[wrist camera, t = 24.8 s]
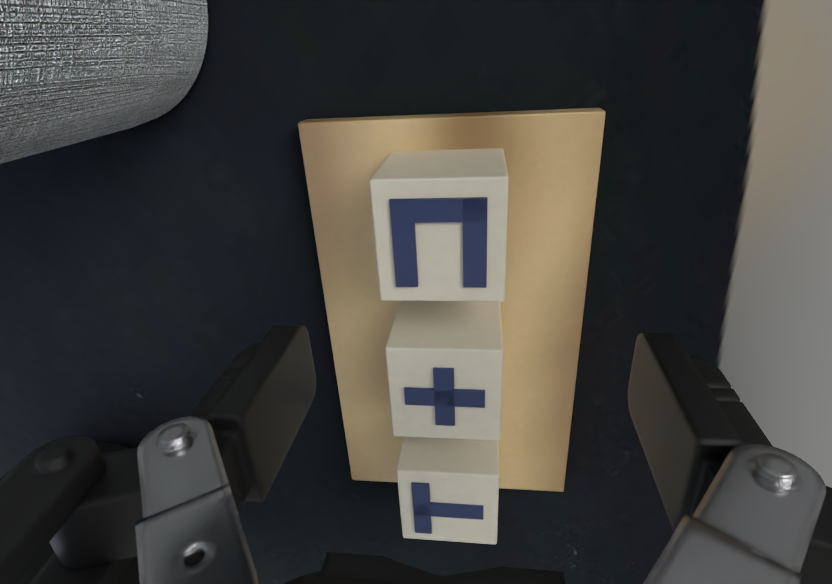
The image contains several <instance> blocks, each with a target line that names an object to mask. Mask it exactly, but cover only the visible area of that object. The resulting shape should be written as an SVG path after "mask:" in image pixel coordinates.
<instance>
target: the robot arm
mask: <svg viewBox="0 0 832 584" xmlns="http://www.w3.org/2000/svg"><path fill="white" fill-rule="evenodd" d="M315 391H316V373H315V367H314V362H313V356H312V350H311V345H310V339H309V333H308V330H307V328H306V327H305V326H303V325H275V326H273V327H272V329H271V330H270V331H269V333H268V334H267V335H266V337H265V338H264V339H263V341H262V342H261V343H260V344H253V345H251V346H250V347H248V348H247V349H245V350H244V351H242V352H241V353H239V354H238V355H237V356H236V357H235V358H234V360H233V361H232V362H231V364H230V365H229V366H228V367H227V370H225V371H224V372H223V374H222V375H221V376H220V377H219V381H216V382H215V384H214V385H213V386H212V388H211V389H210V390H209V391H208V393H207V394H206V395H205V396H204V398H203V399H202V400H201V401H200V403H199V404H198V405H197V406H196V408H195V409H194V410H193V411H192V413H191V414H190V415H189V417H182V418H177V419H174V420H171V421H168V422H166V423H164V424H162V425H160V426H158V427H156V428H155V429H153V430H152V431H151V432H149V433H148V434H147V435H146V436H145V437H144V438H143V440H142V441H141V442H140V444H139V446H138V447H135V448H130V449H125V450H119V451H114V452H108V453H103V454H100V451H99V449H98V447H97V445H96V442H95V441H94V440H93V439H92V438H90V437H88V436H83V435H75V436H68V437H64V438H60V439H57V440H54V441H52V442H49V443H47V444H45V445H43V446H41V447H39V448H38V449H36V450H34V451H33V452H31V453H30V454H29V455H27V456H26V457H25V458H24V459H23V460H22V461H21V462H20V463H19V464H18V465H17V466H15V467H14V468H13V469H12V470H11V471H10V472H9V473H8V474H7V475H6V476H5V477H4V478H3V479H2V480H1V481H0V584H20V581H21V579H22V577H23V575H24V573H25V572H26V570H27V569H28V568H29V567H30V565H31V564H32V563H33V562H34V560H35V559H36V558H37V557H38V555H39V554H40V553H41V552H42V550H43V549H44V548H45V547H46V545H47V544H48V543H50V544H51V546H52V548H53V550H54V553H53V554H52V556H51V557H50V558H49V559H48V561H47V562H46V563H45V565H44V566H43V567H42V568H41V570H40V571H39V572H38V574H37V575H36V576H35V577H34V579H33V580H32V581H31V583H30V584H117V583H118V581H119V579H120V578H121V576H122V575H123V573H124V571H125V570H126V568H127V567H128V565H129V563H130V562H131V560H132V559H133V557H136V556H138V569H139V582H140V584H260V583H259V579H258V576H257V573H256V569H255V566H254V563H253V560H252V556H251V553H250V550H249V547H248V543H247V540H246V537H245V534H244V530H243V527H242V524H241V520H240V517H239V514H238V512H239V510H240V508H241V506H242V504H243V502H244V501H249V502H264V500H265V498H266V496H267V494H268V492H269V490H270V488H271V486H272V484H273V482H274V480H275V478H276V476H277V474H278V471H279V469H280V467H281V465H282V463H283V461H284V459H285V457H286V455H287V453H288V451H289V449H290V447H291V445H292V443H293V441H294V439H295V436H296V434H297V432H298V430H299V428H300V426H301V424H302V422H303V420H304V418H305V416H306V414H307V412H308V410H309V408H310V406H311V404H312V401H313V399H314V396H315ZM628 406H629V411H630V415H631V418H632V420H633V423H634V426H635V429H636V431H637V434H638V437H639V439H640V442H641V445H642V448H643V450H644V453H645V456H646V458H647V461H648V464H649V466H650V469H651V472H652V475H653V477H654V480H655V483H656V485H657V488H658V491H659V494H660V496H661V499H662V502H663V504H664V507H665V510H666V512H667V515H668V518H669V521H670V523H671V526H672V529H673V531H674V533H673V535H672V537H671V538H670V540H669V542H668V543H667V545H666V547H665V548H664V550H663V552H662V553H661V555H660V557H659V558H658V560H657V562H656V563H655V565H654V567H653V568H652V570H651V572H650V574H649V575H648V577H647V579H646V580H645V582H644V584H832V488H830V487H827V486H825V484H824V482H823V480H822V478H821V477H820V475H819V474H818V473H817V472H816V471H815V470H814V469H813V468H812V467H811V466H810V465H809V464H807V463H806V462H804V461H803V460H802V459H800V458H798V457H797V456H795V455H793V454H791V453H788V452H786V451H784V450H781V449H779V448H775V447H773V446H772V445H771V443H770V442H769V440H768V439H767V438H766V436H765V435H764V433H763V432H762V430H761V429H760V427H759V426H758V424H757V423H756V422H755V420H754V419H753V417H752V416H751V414H750V413H749V412H748V410H747V408H746V407H745V406H744V404H743V403H742V402H740V398H739V397H738V395H737V394H736V392H735V391H734V390H733V389H731V385H730V384H729V382H728V381H727V379H726V378H725V376H724V375H723V374H722V372H721V371H720V370H719V369H718V368H717V367H715V366H714V365H712V364H711V363H710V362H708V361H707V360H705V359H704V358H703V357H701V356H689V354H688V353H687V351H686V350H685V348H684V346H683V345H682V343H681V341H680V340H679V338H678V337H677V335H675V334H653V333H640V334H639V335H638V337H637V339H636V344H635V350H634V356H633V362H632V368H631V374H630V380H629V386H628ZM284 584H565V579H564V572H557V571H545V570H534V569H522V568H510V567H498V568H492V569H486V570H480V571H474V572H467V573H461V574H455V575H449V576H437V575H433V574H430V573H428V572H425V571H422V570H419V569H416V568H413V567H411V566H408V565H405V564H402V563H399V562H397V561H394V560H391V559H388V558H385V557H382V556H370V555H359V554H347V553H335V552H327V554H326V557H325V561H324V564H323V567H322V570H321V571H320V572H314V573H311V574H307V575H304V576H300V577H298V578H296V579H293V580H291V581H288V582H286V583H284Z"/></svg>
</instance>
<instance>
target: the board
mask: <svg viewBox="0 0 832 584" xmlns="http://www.w3.org/2000/svg"><path fill="white" fill-rule="evenodd" d="M605 114H606V113H605V111H604V110H602V109H601V108H581V109H555V110H530V111H504V112H479V113H453V114H428V115H402V116H377V117H352V118H326V119H305V120H303V121H301V122H299V123H298V129H299V136H300V142H301V149H302V155H303V162H304V168H305V175H306V181H307V188H308V194H309V201H310V207H311V214H312V220H313V227H314V234H315V240H316V247H317V253H318V260H319V266H320V273H321V279H322V286H323V292H324V299H325V305H326V312H327V318H328V325H329V332H330V338H331V345H332V351H333V358H334V364H335V371H336V377H337V384H338V390H339V397H340V403H341V410H342V417H343V423H344V430H345V436H346V443H347V449H348V456H349V462H350V469H351V475H352V480H364V481H382V482H398V480H397V466H398V461H399V456H400V451H401V446H402V441H403V437H402V436H394V435H393V426H392V416H391V405H390V395H389V384H388V374H387V364H386V353H385V347H386V344H387V341H388V337H389V334H390V331H391V328H392V325H393V321H394V318H395V315H396V312H397V309H398V305H399V302H400V301H382V300H381V299H380V289H379V279H378V268H377V258H376V247H375V237H374V226H373V216H372V205H371V195H370V185H369V181H370V179H371V177H372V176H373V175H374V174H375V172H376V171H377V170H378V168H379V167H380V166H381V165H382V163H383V162H384V161H385V159H386V158H387V157H388V155H389V154H390V153H391V152H392V151H419V150H453V149H487V148H503V150H504V155H505V161H506V167H507V173H508V210H507V243H506V276H505V300H504V301H503V302H500V309H501V325H502V342H503V370H502V403H501V437H500V440H499V441H498V462H499V488H506V489H524V490H541V491H559V492H563V490H564V482H565V473H566V464H567V455H568V446H569V438H570V429H571V420H572V411H573V402H574V393H575V384H576V375H577V366H578V357H579V348H580V339H581V330H582V321H583V312H584V303H585V294H586V285H587V276H588V267H589V258H590V249H591V240H592V231H593V222H594V213H595V204H596V195H597V186H598V177H599V168H600V159H601V150H602V141H603V132H604V123H605Z"/></svg>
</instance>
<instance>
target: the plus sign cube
mask: <svg viewBox="0 0 832 584" xmlns="http://www.w3.org/2000/svg"><path fill="white" fill-rule="evenodd" d="M385 353H386V364H387V374H388V384H389V395H390V405H391V416H392V426H393V435H394V436H402V437H425V438H447V439H470V440H492V441H499V440H500V437H501V403H502V370H503V342H502V325H501V309H500V302H481V301H400V302H399V305H398V309H397V312H396V315H395V318H394V321H393V325H392V328H391V331H390V334H389V337H388V341H387V344H386V347H385Z"/></svg>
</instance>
